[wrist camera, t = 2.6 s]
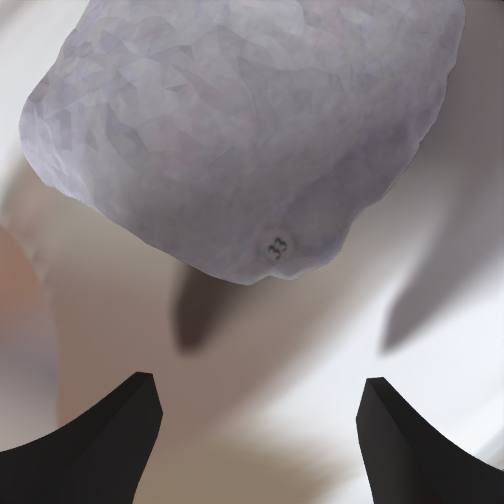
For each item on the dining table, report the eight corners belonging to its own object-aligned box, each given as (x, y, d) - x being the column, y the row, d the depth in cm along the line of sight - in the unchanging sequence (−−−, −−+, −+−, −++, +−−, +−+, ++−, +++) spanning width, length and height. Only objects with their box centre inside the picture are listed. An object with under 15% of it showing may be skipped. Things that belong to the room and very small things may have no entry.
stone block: (424, 28, 9) (209, -91, 6) (505, 11, 4) (208, -161, 2) (283, 263, 13) (57, 157, 10) (314, 343, 8) (-21, 191, 5)
